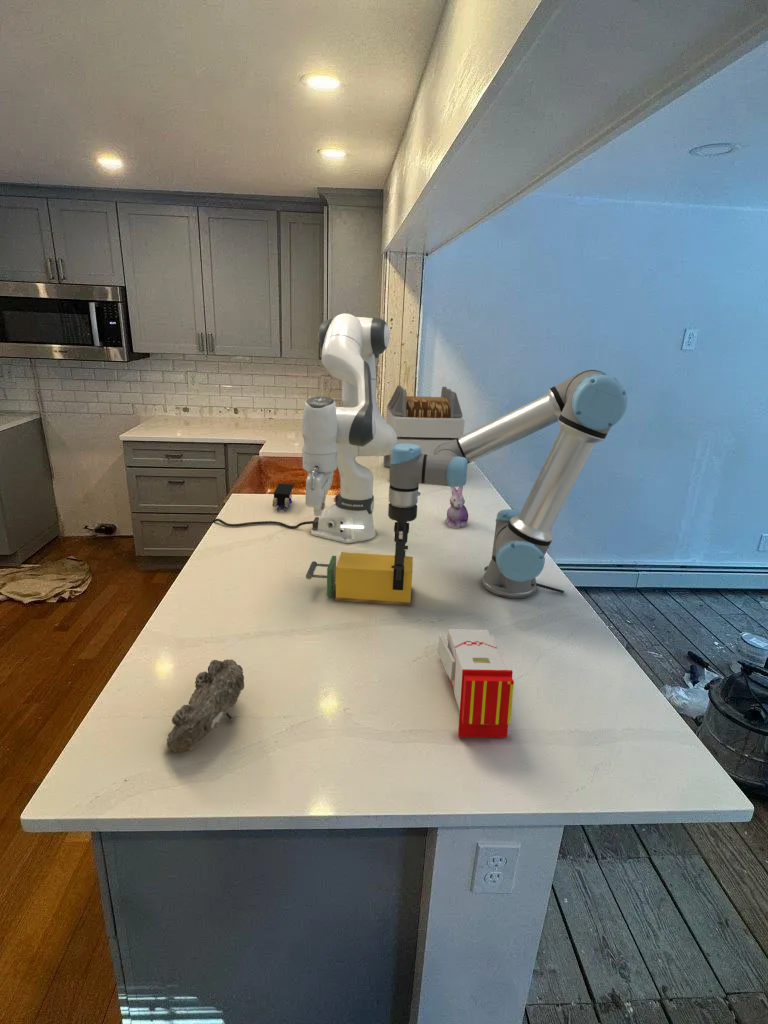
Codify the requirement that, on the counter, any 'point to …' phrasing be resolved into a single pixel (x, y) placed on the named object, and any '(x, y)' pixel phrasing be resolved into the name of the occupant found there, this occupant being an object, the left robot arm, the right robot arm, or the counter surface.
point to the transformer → (424, 420)
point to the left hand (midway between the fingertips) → (319, 512)
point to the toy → (478, 682)
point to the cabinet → (371, 579)
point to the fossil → (206, 705)
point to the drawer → (330, 575)
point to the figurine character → (282, 496)
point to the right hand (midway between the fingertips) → (398, 580)
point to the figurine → (457, 509)
